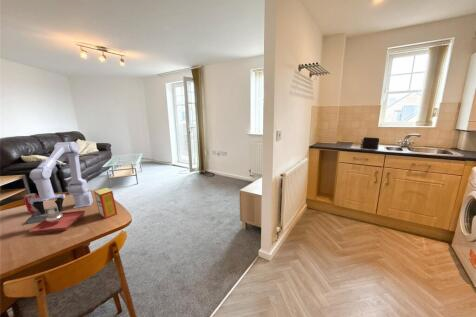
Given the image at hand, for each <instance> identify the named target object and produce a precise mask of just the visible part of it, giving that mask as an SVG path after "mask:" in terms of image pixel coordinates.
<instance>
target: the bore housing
mask: <svg viewBox="0 0 476 317" xmlns="http://www.w3.org/2000/svg"><path fill="white" fill-rule="evenodd" d="M57 208H58V207H57ZM44 209H45V213H44V214H41V213H40V211H39V210H38V211H37V212H36V213H32V215H31V216H30V217H28V218H27V219H26V224H27V225H28V224H34V223H38V222H39V223H41V222H43V221H44V220H46V217H48V213H47V209H48V208H44ZM62 211H64V210H63V208H62V210H61V211H59V210H58V212H59V213H62Z"/></svg>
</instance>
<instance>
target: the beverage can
mask: <svg viewBox="0 0 476 317" xmlns="http://www.w3.org/2000/svg"><path fill="white" fill-rule="evenodd" d="M38 195H39V194H37V193H34V192H33V193H28V194H25V195H24V197H23V201H24V203H25V204H24V205H25V207H26V209H27V213H29V214H34V213H36V212H37V211H38V209H37V208H35V207H33V203H32V204H31V203H30V200H31V199H34V198H39V196H38Z"/></svg>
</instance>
